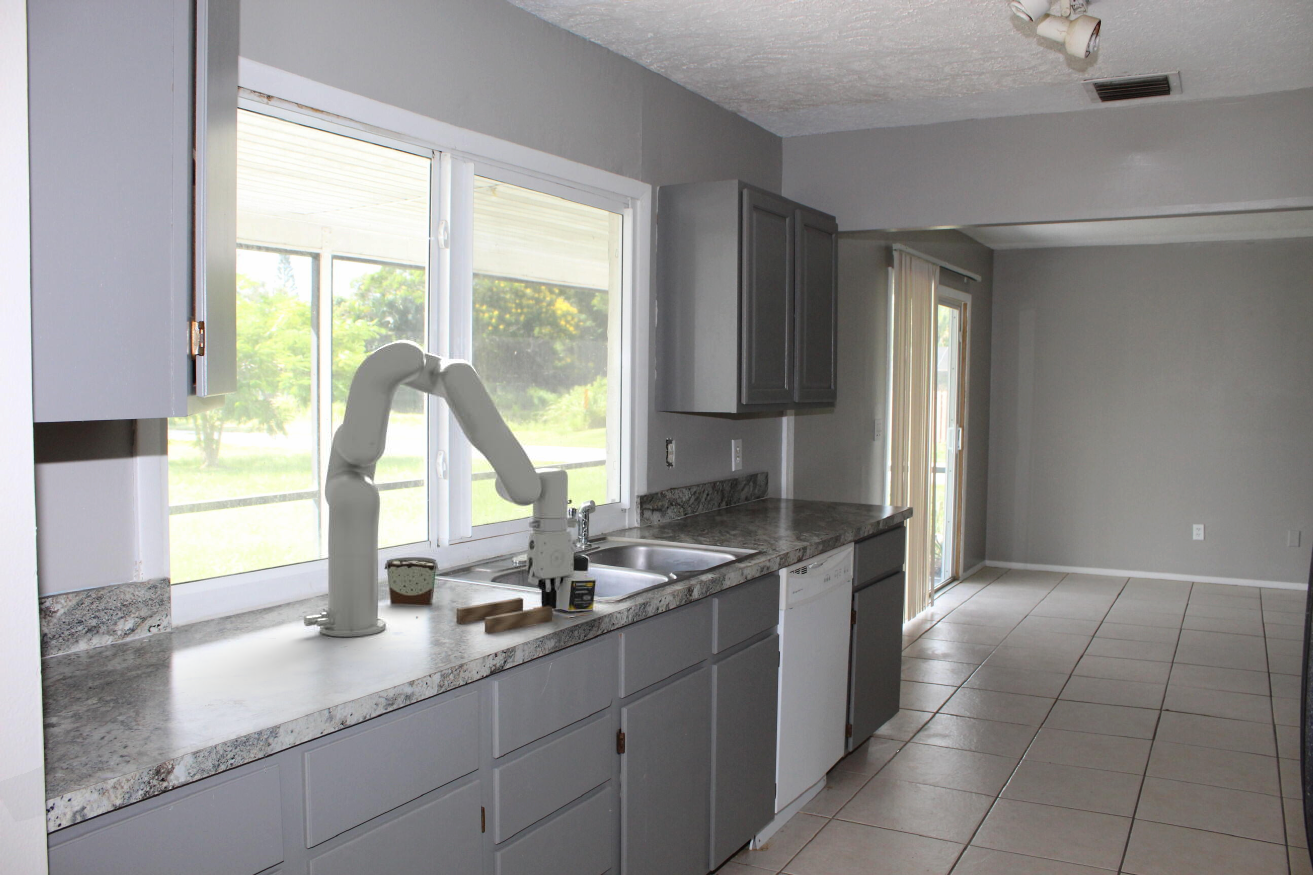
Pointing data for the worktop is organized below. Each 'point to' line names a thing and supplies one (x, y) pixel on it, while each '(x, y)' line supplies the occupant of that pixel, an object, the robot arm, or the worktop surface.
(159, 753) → the worktop surface
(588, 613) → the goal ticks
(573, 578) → the medicine bottle
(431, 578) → the food container
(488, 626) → the chute
